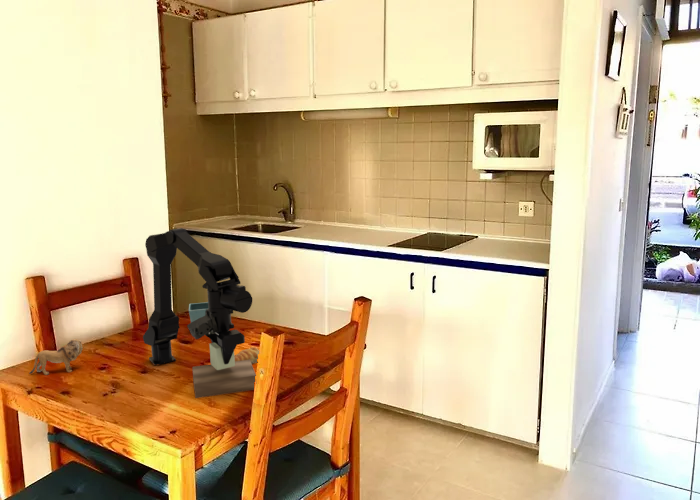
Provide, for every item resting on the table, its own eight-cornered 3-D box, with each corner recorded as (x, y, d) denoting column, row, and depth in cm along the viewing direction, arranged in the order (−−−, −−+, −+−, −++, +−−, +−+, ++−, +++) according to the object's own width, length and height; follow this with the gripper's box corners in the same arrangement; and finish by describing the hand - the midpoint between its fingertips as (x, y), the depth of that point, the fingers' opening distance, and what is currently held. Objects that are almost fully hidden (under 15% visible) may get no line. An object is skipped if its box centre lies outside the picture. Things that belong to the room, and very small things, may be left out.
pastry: (238, 370, 172) (237, 357, 171) (225, 364, 176) (224, 352, 176) (264, 361, 178) (263, 349, 178) (250, 355, 183) (250, 344, 182)
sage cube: (210, 364, 161) (209, 343, 160) (228, 360, 164) (226, 339, 162) (217, 370, 157) (216, 348, 156) (234, 366, 160) (233, 345, 158)
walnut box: (193, 381, 165) (192, 366, 164) (250, 373, 169) (249, 359, 169) (195, 399, 154) (194, 383, 153) (256, 390, 158) (256, 375, 157)
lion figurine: (84, 364, 178) (81, 335, 176) (84, 370, 173) (81, 341, 171) (30, 372, 172) (26, 343, 171) (28, 379, 168) (24, 349, 166)
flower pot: (190, 327, 210) (189, 303, 208) (216, 325, 212) (214, 301, 210) (190, 335, 202) (188, 310, 200) (216, 333, 204) (215, 308, 202)
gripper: (178, 302, 160) (182, 356, 163) (201, 320, 145) (205, 379, 148) (217, 296, 166) (220, 348, 169) (244, 312, 151) (247, 369, 154)
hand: (222, 360), depth 160 cm, fingers closed on sage cube, 5 cm apart
